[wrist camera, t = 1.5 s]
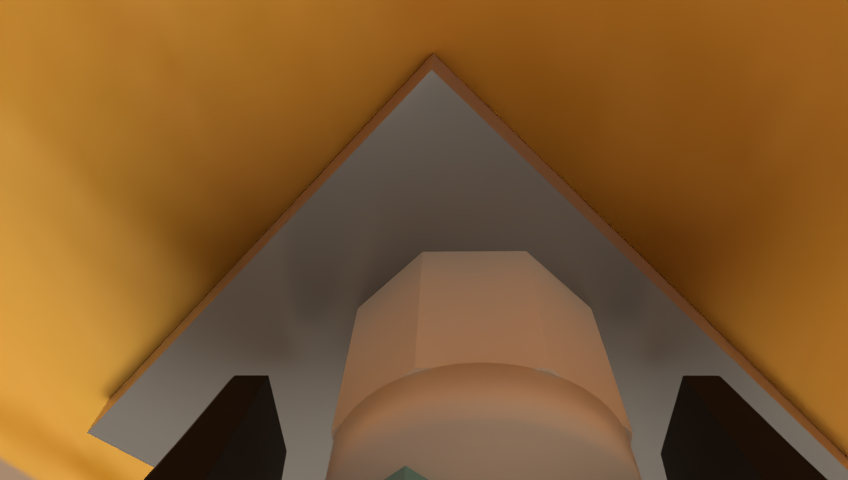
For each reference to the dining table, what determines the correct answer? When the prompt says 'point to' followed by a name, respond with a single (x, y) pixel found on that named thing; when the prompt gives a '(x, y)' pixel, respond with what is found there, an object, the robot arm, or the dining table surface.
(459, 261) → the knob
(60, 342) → the dining table surface
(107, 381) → the dining table surface
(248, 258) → the board
